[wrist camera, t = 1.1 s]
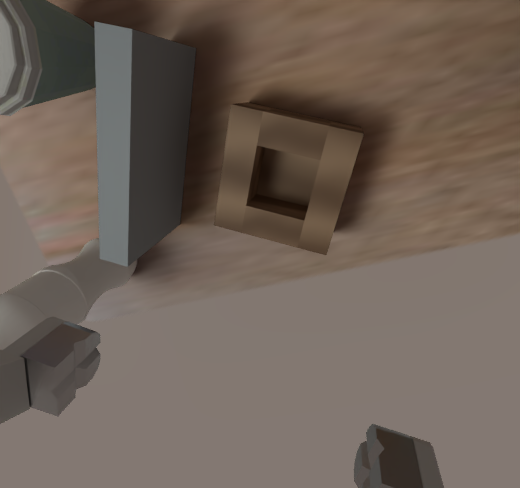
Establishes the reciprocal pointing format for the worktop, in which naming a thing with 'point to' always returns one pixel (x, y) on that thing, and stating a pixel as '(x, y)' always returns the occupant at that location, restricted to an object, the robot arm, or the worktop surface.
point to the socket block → (285, 175)
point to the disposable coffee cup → (42, 54)
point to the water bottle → (59, 292)
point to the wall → (140, 138)
